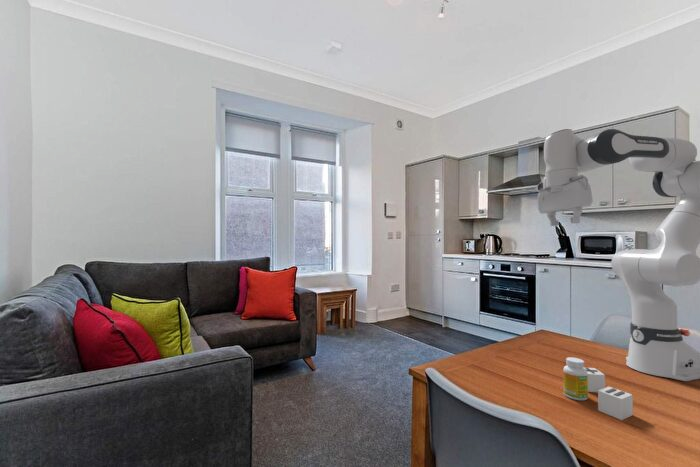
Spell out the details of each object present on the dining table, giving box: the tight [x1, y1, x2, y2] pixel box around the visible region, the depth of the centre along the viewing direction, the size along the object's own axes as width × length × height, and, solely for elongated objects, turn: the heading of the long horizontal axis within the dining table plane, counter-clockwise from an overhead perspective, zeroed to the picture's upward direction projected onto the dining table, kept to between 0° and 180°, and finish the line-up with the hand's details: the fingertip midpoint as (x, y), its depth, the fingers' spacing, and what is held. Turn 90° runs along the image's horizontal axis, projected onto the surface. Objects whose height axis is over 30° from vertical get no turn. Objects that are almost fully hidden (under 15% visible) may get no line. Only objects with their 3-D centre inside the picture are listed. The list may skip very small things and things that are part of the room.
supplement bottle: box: [563, 356, 589, 401], centre depth 91 cm, size 5×5×10 cm
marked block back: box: [583, 366, 606, 393], centre depth 96 cm, size 5×5×5 cm
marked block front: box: [597, 386, 634, 421], centre depth 83 cm, size 5×5×5 cm
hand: (564, 224), depth 106 cm, fingers open, 8 cm apart
